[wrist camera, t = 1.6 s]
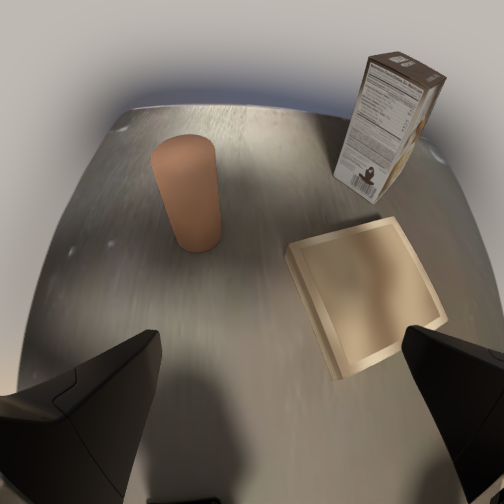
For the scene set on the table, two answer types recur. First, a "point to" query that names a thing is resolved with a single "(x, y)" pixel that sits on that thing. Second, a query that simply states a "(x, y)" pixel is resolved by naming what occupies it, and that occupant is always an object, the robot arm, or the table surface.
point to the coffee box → (386, 122)
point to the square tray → (362, 293)
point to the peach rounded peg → (189, 190)
